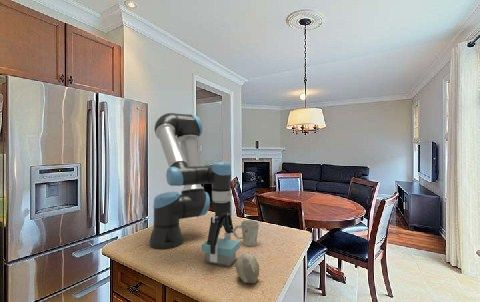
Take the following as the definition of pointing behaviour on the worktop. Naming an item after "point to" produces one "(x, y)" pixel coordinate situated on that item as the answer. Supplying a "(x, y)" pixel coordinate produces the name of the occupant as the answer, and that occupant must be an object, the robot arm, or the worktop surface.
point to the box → (222, 259)
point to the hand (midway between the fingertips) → (221, 254)
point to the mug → (248, 232)
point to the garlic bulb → (247, 268)
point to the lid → (223, 247)
